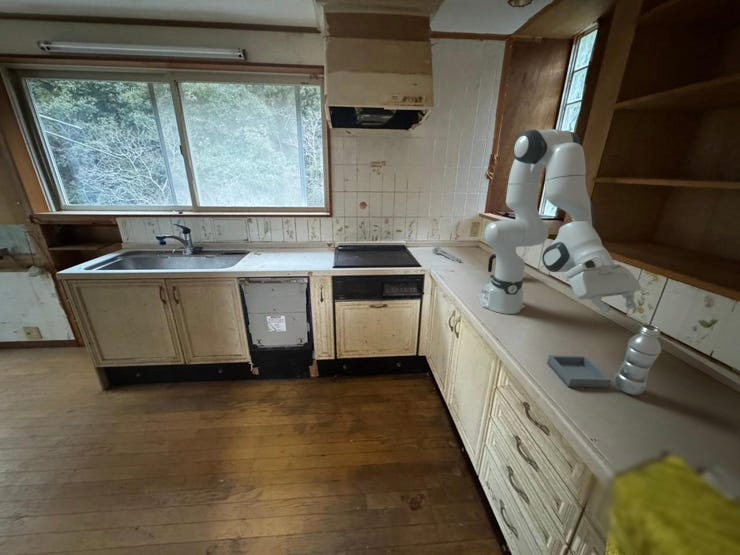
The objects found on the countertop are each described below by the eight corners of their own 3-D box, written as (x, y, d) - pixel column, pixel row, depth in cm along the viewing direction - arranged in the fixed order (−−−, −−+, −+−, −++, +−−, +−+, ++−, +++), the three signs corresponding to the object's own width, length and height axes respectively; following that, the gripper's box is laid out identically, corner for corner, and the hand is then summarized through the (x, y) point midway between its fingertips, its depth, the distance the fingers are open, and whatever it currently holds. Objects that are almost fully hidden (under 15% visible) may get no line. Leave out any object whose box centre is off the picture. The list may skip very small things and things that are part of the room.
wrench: (458, 267, 194) (429, 251, 217) (460, 266, 195) (431, 251, 218) (460, 255, 191) (431, 241, 214) (462, 255, 191) (433, 241, 215)
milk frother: (509, 275, 170) (513, 251, 165) (519, 285, 156) (524, 259, 150) (484, 274, 172) (487, 250, 166) (491, 284, 157) (496, 258, 152)
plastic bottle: (627, 381, 86) (650, 321, 79) (648, 398, 79) (676, 334, 72) (606, 381, 85) (627, 321, 78) (625, 398, 79) (651, 335, 72)
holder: (546, 363, 93) (549, 355, 92) (582, 363, 93) (584, 355, 92) (568, 387, 83) (570, 378, 82) (607, 388, 83) (610, 379, 82)
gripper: (613, 268, 93) (636, 309, 88) (560, 274, 89) (581, 317, 83) (632, 259, 88) (658, 301, 82) (577, 264, 83) (601, 309, 77)
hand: (619, 309), depth 83 cm, fingers open, 8 cm apart
